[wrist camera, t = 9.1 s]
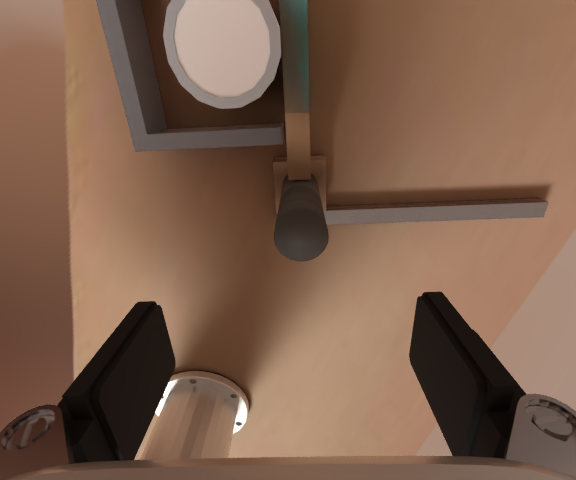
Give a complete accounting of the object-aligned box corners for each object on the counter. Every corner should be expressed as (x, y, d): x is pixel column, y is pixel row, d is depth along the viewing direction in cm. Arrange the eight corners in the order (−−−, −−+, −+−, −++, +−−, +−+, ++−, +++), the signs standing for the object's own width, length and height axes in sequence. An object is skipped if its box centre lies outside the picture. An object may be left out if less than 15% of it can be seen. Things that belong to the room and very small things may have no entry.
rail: (534, 212, 28) (543, 216, 27) (278, 221, 30) (277, 226, 29) (539, 198, 28) (548, 202, 27) (277, 208, 29) (276, 212, 28)
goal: (284, 137, 26) (282, 144, 23) (157, 144, 27) (135, 151, 23) (273, -52, 21) (268, -82, 17) (115, -38, 22) (79, -65, 18)
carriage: (324, 203, 28) (340, 270, 18) (277, 205, 29) (264, 272, 18) (324, -9, 22) (350, -112, 11) (262, -5, 22) (228, -101, 11)
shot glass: (302, 39, 23) (304, 18, 17) (259, 122, 26) (247, 131, 19) (221, -19, 22) (189, -65, 15) (184, 75, 24) (145, 68, 18)
